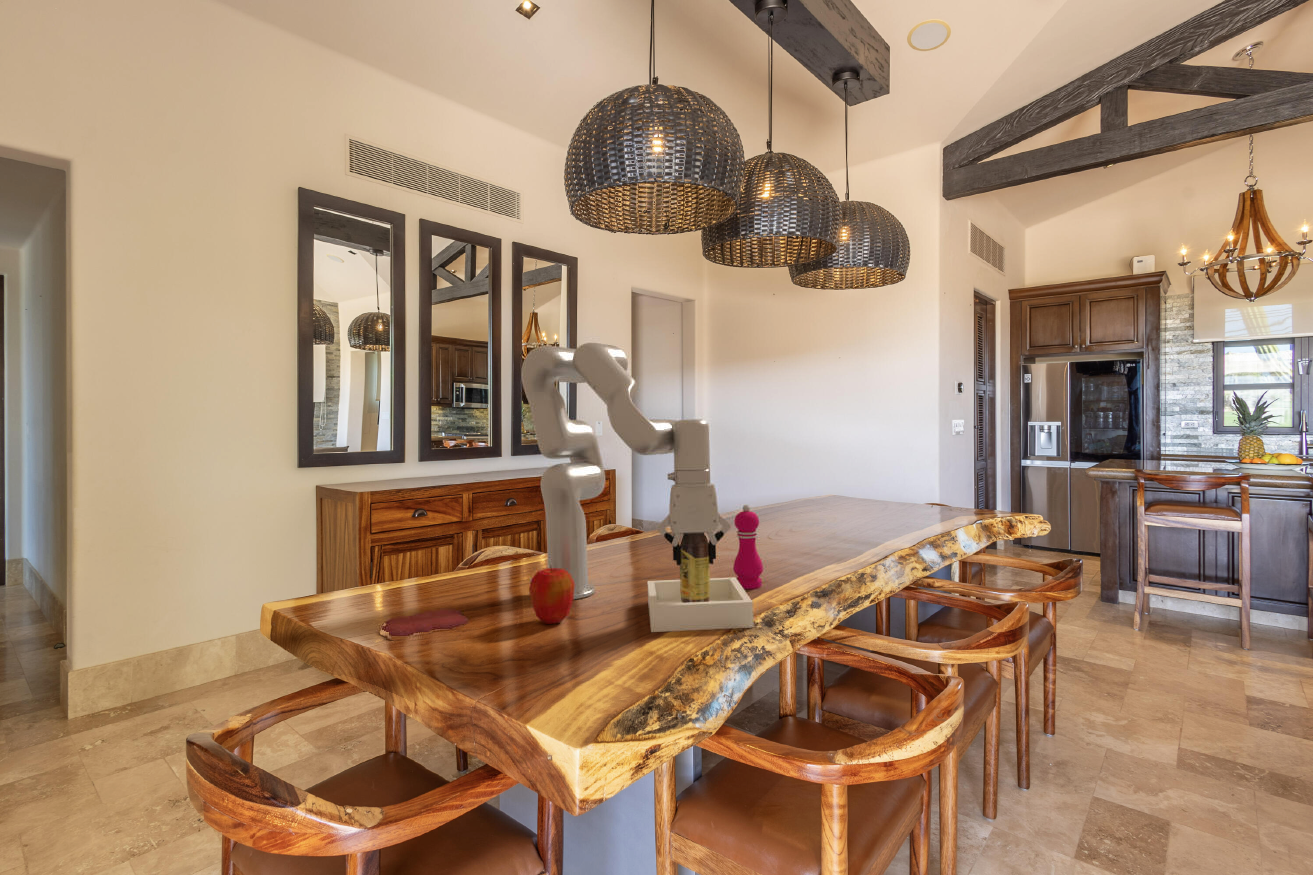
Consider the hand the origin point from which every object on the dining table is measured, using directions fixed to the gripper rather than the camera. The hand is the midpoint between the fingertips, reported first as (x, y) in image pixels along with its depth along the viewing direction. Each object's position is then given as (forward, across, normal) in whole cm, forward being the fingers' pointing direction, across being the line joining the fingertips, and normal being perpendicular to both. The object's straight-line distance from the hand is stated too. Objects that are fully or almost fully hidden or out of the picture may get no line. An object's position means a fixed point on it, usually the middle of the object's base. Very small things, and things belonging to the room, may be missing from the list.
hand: (694, 562), depth 131 cm
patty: (+12, -57, +1) cm, 58 cm away
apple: (+11, -30, -1) cm, 32 cm away
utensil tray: (+11, 0, 0) cm, 11 cm away
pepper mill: (+11, +15, +21) cm, 28 cm away
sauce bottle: (+9, 0, 0) cm, 9 cm away
